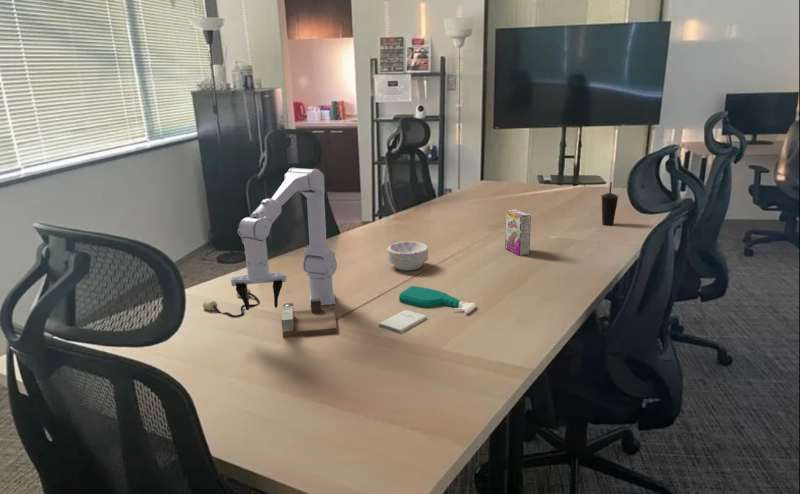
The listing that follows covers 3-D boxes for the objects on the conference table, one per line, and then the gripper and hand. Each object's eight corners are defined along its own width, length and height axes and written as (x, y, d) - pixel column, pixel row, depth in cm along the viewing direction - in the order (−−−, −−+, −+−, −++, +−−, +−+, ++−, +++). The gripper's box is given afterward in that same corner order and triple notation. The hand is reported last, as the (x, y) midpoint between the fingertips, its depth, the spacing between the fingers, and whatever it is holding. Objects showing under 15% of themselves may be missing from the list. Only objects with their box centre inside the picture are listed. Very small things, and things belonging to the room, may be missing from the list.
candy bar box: (504, 249, 231) (505, 210, 227) (514, 247, 233) (515, 208, 228) (519, 256, 221) (520, 215, 217) (530, 254, 223) (531, 214, 218)
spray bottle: (413, 292, 188) (480, 307, 176) (395, 303, 180) (465, 319, 167) (413, 284, 187) (481, 298, 175) (395, 294, 179) (465, 310, 166)
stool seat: (285, 316, 171) (283, 301, 169) (334, 312, 173) (333, 297, 171) (283, 337, 157) (281, 321, 155) (337, 332, 159) (335, 316, 157)
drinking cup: (618, 223, 265) (621, 181, 260) (614, 227, 259) (617, 184, 254) (601, 221, 269) (604, 180, 264) (597, 225, 263) (600, 183, 258)
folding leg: (284, 314, 168) (283, 303, 167) (294, 313, 168) (293, 302, 167) (282, 331, 156) (281, 320, 155) (293, 330, 156) (292, 319, 155)
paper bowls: (405, 276, 203) (405, 255, 201) (380, 266, 214) (379, 246, 212) (436, 266, 212) (436, 246, 210) (410, 258, 223) (410, 239, 221)
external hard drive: (378, 328, 162) (405, 313, 172) (400, 335, 157) (426, 320, 167) (378, 323, 162) (405, 309, 171) (400, 330, 157) (426, 315, 166)
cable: (274, 303, 183) (273, 293, 182) (233, 321, 170) (232, 310, 169) (242, 294, 191) (241, 285, 190) (202, 310, 179) (200, 300, 178)
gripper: (227, 267, 147) (233, 315, 151) (283, 263, 150) (288, 310, 153) (231, 259, 154) (236, 305, 158) (284, 255, 156) (288, 301, 160)
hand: (262, 307), depth 156 cm, fingers open, 7 cm apart
